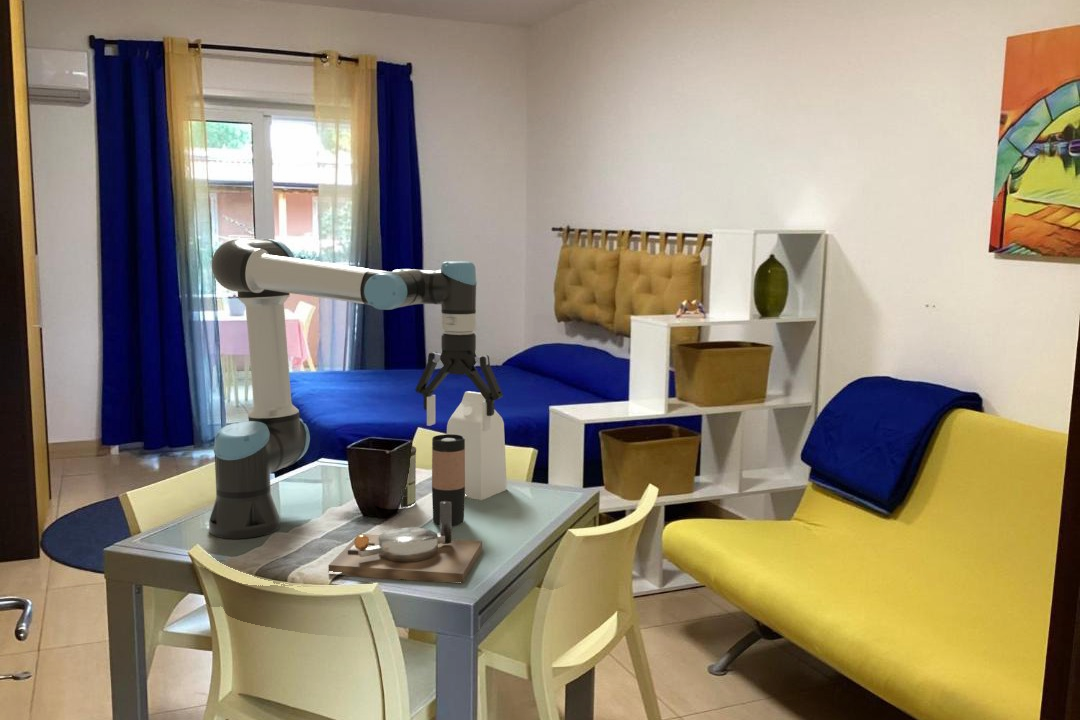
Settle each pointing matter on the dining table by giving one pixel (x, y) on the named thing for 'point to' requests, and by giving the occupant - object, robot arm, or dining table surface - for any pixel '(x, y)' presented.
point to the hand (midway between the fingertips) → (458, 427)
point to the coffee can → (410, 482)
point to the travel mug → (448, 476)
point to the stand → (411, 563)
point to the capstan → (409, 540)
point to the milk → (480, 447)
